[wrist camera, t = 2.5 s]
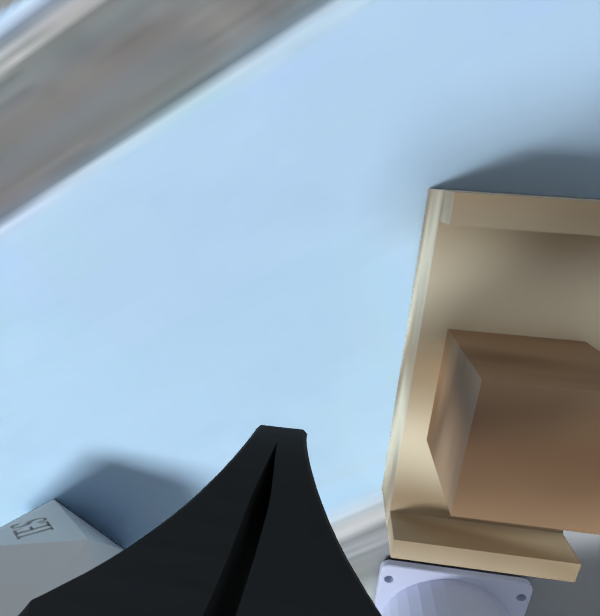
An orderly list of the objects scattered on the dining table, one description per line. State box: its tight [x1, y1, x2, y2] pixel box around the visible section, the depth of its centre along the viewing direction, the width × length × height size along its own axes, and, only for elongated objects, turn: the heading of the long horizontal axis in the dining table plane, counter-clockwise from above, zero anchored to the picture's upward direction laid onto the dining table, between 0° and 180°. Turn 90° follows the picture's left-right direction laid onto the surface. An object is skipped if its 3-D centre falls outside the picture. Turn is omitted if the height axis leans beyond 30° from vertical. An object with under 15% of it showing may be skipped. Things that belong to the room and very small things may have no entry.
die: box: [0, 499, 124, 616], centre depth 21 cm, size 8×9×10 cm
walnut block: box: [427, 329, 600, 535], centre depth 14 cm, size 5×5×4 cm
